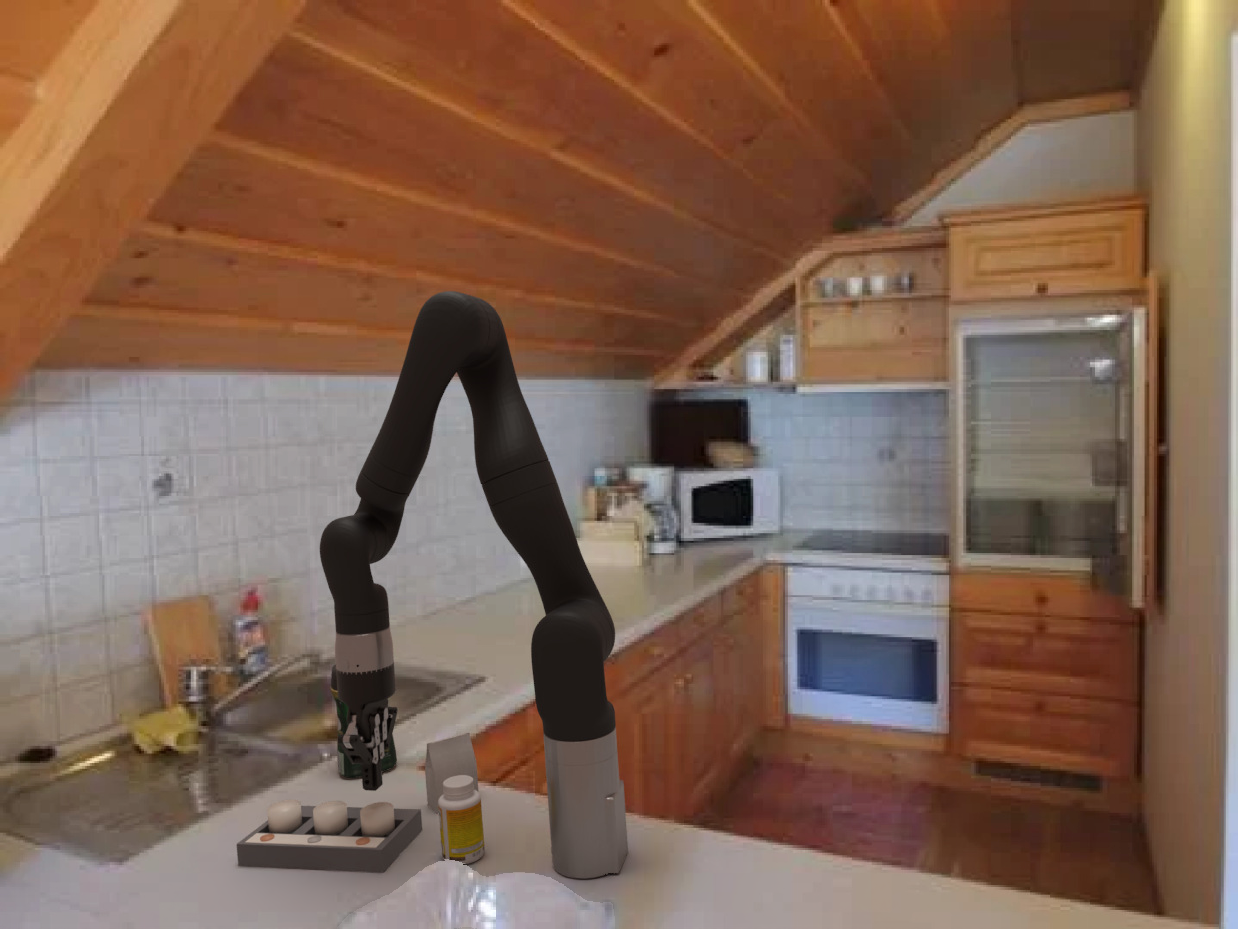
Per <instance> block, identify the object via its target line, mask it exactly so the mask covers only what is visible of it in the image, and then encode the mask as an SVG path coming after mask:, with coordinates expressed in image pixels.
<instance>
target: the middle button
mask: <svg viewBox="0 0 1238 929" xmlns="http://www.w3.org/2000/svg"><path fill="white" fill-rule="evenodd" d="M315 806H316V807H315V808H314V809H313V817H314V829H315V834H316V835H336V834H339V833H342V832H343V831H345V830H346V829H347V828H348V816H347V807H348V806H347V803H346V802H345V801H342V800H332V801H326V802H323V803H321V804H319V805H315Z"/></svg>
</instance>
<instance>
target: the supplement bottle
mask: <svg viewBox="0 0 1238 929" xmlns="http://www.w3.org/2000/svg"><path fill="white" fill-rule="evenodd" d="M478 791H479V790H478ZM478 791H476V790H474V783H473V778H472V777H470V776H467V775H458V776H453V777H450V778H448V779H446V780H445V781H444V782H443V795H442V796H441V797H440V798H439V800H438V809H439V814H438V822H439V831H440V832H439V834H440V845H441V846H440V847H441V856H442V859H443V860H444V859H449V860H455V861H459V862H462V863H466V864H465V865H469V864H472V863H474V862H477V861H478V860H479V859H481V858H482V857H483V855H484V853H485V838H484V837H485V836H484V824H483V811H482V797H481V796H482V795H481V794H480V791H479V792H478Z"/></svg>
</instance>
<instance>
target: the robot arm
mask: <svg viewBox="0 0 1238 929" xmlns="http://www.w3.org/2000/svg"><path fill="white" fill-rule="evenodd" d="M505 330H506V329H505V327H504V324H503V321H502V318H501V317H500V315H499V313H498V312H497V310H496V309H495V308H494V307H493V306H492V305H491V303H489V302H488V301H485V300H484V299H483V298H479V297H477V296H473V295H470V294H467V293H464V292H463V293H462V292H460V291H455V290H445V291H442V292H441V291H440V292H438V293H435V294H433V295H432V296H430V297H429V298H428V299H427V300H426V301H425V302H424V304H423V305H422V307H421V308H420V310H419V313H418V314H417V317H416V320H415V322H414V325H413V329H412V332H411V334H410V335H411V336H410V339H409V342H408V347H407V350H406V354H405V357H404V361H403V364H402V367H401V369H400V370H401V371H400V373H399V376H398V380H397V384H396V386H395V390H394V392H393V396H392V398H391V401H390V404H389V408H388V410H387V412H386V415H385V417H384V420H383V423H382V425H381V428H380V429H379V431H378V434H377V435H376V437H375V440H374V442H373V444H372V446H371V448H370V451H369V453H368V455H367V457H366V459H365V461H364V464H363V466H362V468H361V469H360V471H359V474H358V475H357V479H356V483H355V491H356V492H355V493H356V494H357V495H358V497H359V498H360V500H359V504H358V507H357V509H356V511H355V512H354V514H351V515H347V516H343V517H338V518H335V519H334V520H332V521H331V522H329V523H328V524H327V525H326V526H325V528H324V530H323V531H322V534H321V537H320V543H319V556H320V557H319V558H320V562H321V566H322V570H323V573H324V577H325V580H326V583H327V586H328V589H329V591H330V593H331V598H332V600H333V604H334V608H333V609H334V610H333V611H334V622H335V642H334V656H335V658H334V659H335V665H336V675H337V690H338V698H339V700H340V701H341V702H344V703H345V704H346V705H347V706H348V713H347V724H348V729H347V731H346V734H340V735H339V736H338V735H337V739H338V744H339V745H340V747H341V748H342V750H343V751H344V753H345V754H346V756H347V757H348V759H349V760H350V762H351V763H352V764H361V768H362V777H361V779H362V780H361V783H362V789H363V791H364V790H365V791H371V792H374V791H375V792H376V791H377V790H378V789H380V788H381V787H382V786H383V784H384V783H383V772H382V766H381V759H383V757H384V750H388V749H389V746H390V742H391V738H392V734H393V733H394V729H395V724H396V719H397V715H398V707H397V706H390V705H389V699H390V698H391V697H392V696H394V694H395V692H396V690H397V689H396V677H395V676H396V674H395V660H394V657H395V656H394V643H393V637H392V633H391V624H390V623H391V622H390V610H389V608H390V605H389V597H388V593H387V590H386V588H385V587H384V586H383V585H381V584H379V583H377V582H374V578H373V573H372V570H371V569H372V568H371V565H372V564H375V563H377V562H379V561H382V560H383V559H384V558H385V557H386V556H387V555H388V553H390V551H391V550H392V548H393V546H394V545H395V543H396V540H397V538H398V535H399V532H400V528H401V524H402V521H403V518H404V517H403V516H404V513H405V509H406V508H405V507H406V506H405V505H406V502H407V500H408V499H409V496H410V495H411V493H412V490H413V489H414V486H415V485H416V483H417V480H418V478H419V476H420V475H421V472H422V470H423V468H424V466H425V463H426V461H427V458H428V455H429V452H430V449H431V444H432V439H433V432H434V426H435V420H436V416H437V413H438V409H439V406H440V403H441V400H442V399H443V396H444V394H445V392H446V390H447V388H448V386H449V385H450V383H451V382H452V380H453V378H454V376H455V375H456V374H457V377H458V378H459V381H460V384H461V385H462V388H463V391H464V392H465V395H466V398H467V401H468V404H469V407H470V411H471V416H472V422H473V426H472V427H473V448H474V460H475V461H474V462H475V468H476V472H477V476H478V479H479V483H480V485H481V488H482V491H483V494H484V496H485V499H486V502H487V504H488V507H489V510H490V512H491V515H492V517H493V518H494V521H495V523H496V525H497V527H498V528H499V529H500V531H501V532H502V534H503V535H504V537H505V538H506V540H507V541H508V542H509V543H510V544H511V546H512V547H513V549H514V550H515V551H516V553H517V554H518V556H520V558H521V560H522V561H523V562H524V564H526V566H527V568H528V570H529V571H530V574H531V575H532V577H533V580H534V583H535V584H536V588H537V590H538V593H539V596H540V599H541V603H542V606H543V610H544V614H545V616H543V617H542V618H541V619H540V620H539V622H538V623H537V624H536V626H535V628H534V629H533V631H532V632H533V633H532V637H531V641H530V642H531V644H530V653H531V654H530V655H531V656H530V657H531V660H530V661H531V669H532V678H533V679H532V680H533V689H534V696H535V697H534V698H535V705H536V709H537V712H538V716H540V719H541V721H542V722H541V723H542V731H543V744H544V748H543V749H544V762H545V777H546V790H547V804H548V817H549V818H548V820H549V833H550V834H549V835H550V846H551V847H550V850H551V852H550V853H551V858H552V867H553V869H554V870H555V871H556V872H557V873H558V874H561V875H562V876H564V877H568V878H573V879H593V878H599V877H603V876H605V874H606V875H609V874H608V873H614V874H615V873H618V874H619V873H620V872H619V871H621V870H622V867H623V864H624V862H625V860H624V859H626V857H627V855H626V854H628V852H629V846H628V829H627V818H626V817H627V814H626V801H625V799H626V798H625V784H624V780H623V779H620V771H619V770H620V769H619V758H618V745H617V744H618V741H617V740H618V739H617V725H616V724H617V723H616V712H615V706H614V705H613V704H612V703H611V702H610V701H609V700H608V696H607V687H606V676H605V665H604V664H605V661H606V660H607V659H608V658H609V656H610V655H611V654H612V652H613V649H614V646H615V642H616V626H615V624H614V621H613V617H612V616H611V613H610V611H609V609H608V607H607V605H606V603H605V600H604V599H603V596H602V595H601V593H600V591H599V589H598V587H597V585H596V582H595V581H594V579H593V577H592V574H591V573H590V569H589V568H588V566H587V564H586V561H585V559H584V557H583V555H582V554H583V553H582V552H581V549H580V546H579V542H578V540H577V537H576V533H575V530H574V528H573V524H572V521H571V519H570V515H569V513H568V510H567V507H566V504H565V502H564V499H563V496H562V493H561V490H560V487H559V483H558V481H557V478H556V475H555V472H554V470H553V467H552V464H551V462H550V460H549V456H548V455H547V452H546V450H545V448H544V445H543V442H542V440H541V437H540V435H539V432H538V429H537V427H536V424H535V422H534V419H533V417H532V414H531V412H530V409H529V407H528V404H527V402H526V400H525V397H524V395H523V393H522V390H521V386H520V383H519V381H518V376H517V374H516V373H517V372H516V369H515V366H514V362H513V358H512V353H511V349H510V346H509V342H508V338H507V335H506V331H505ZM615 875H616V874H615Z"/></svg>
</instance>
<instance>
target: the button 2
mask: <svg viewBox="0 0 1238 929" xmlns="http://www.w3.org/2000/svg"><path fill="white" fill-rule="evenodd" d="M361 808H362V809H361V810H360V819H361V831H362V836H364V837H383V836H386V835H389V834H390V833H392V832H393V831H394V830H395V819H394V809H395V808H394V804H392V803H391V802H386V801H382V802H381V801H379V802H374V803H369V804H367V805H366V806H363V807H361Z"/></svg>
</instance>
